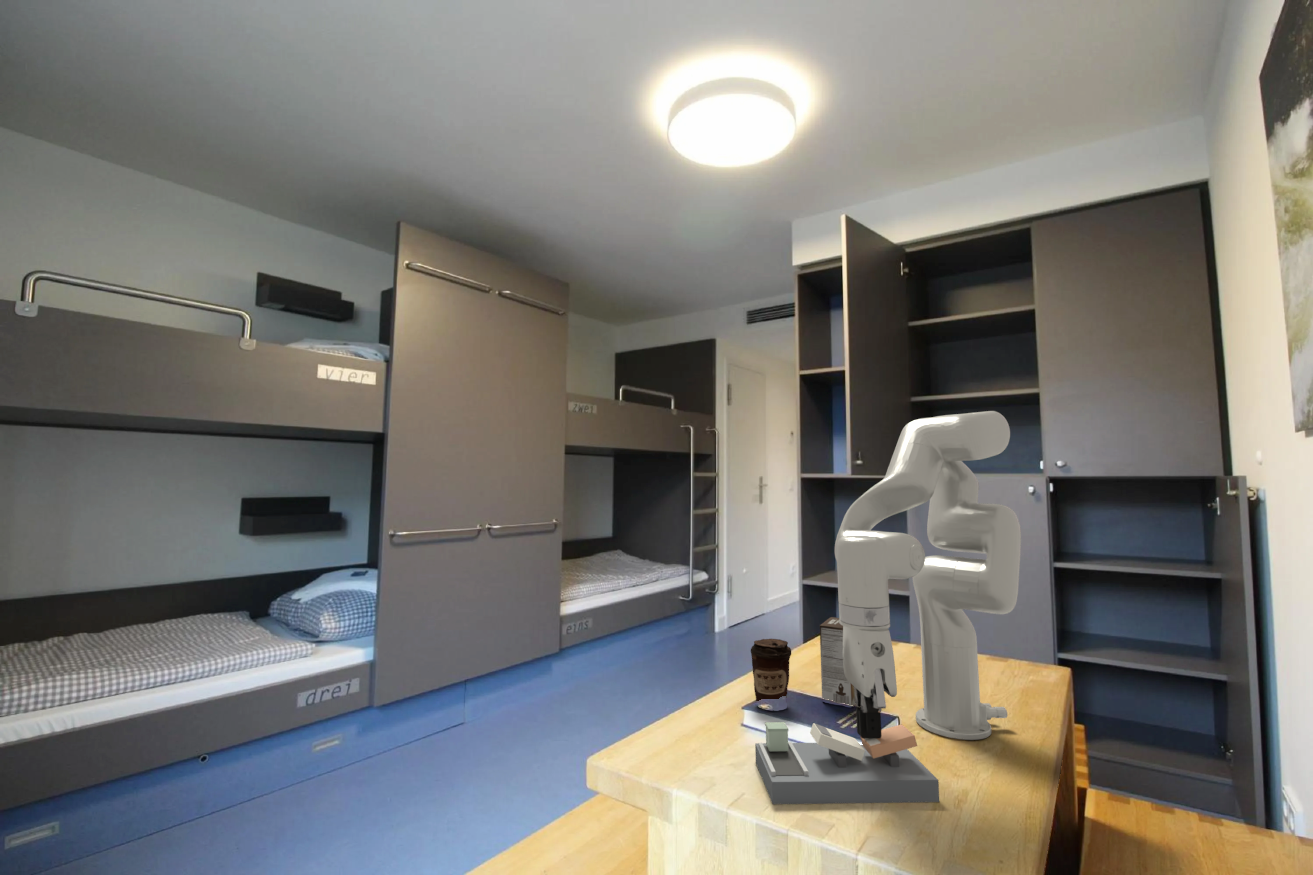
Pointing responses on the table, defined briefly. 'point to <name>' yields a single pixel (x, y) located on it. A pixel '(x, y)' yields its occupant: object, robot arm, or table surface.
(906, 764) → the panel
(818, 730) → the rocker cream
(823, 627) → the coffee box
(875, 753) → the rocker terracotta
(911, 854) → the table surface
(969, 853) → the table surface
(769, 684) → the coffee cup
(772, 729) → the green slider block
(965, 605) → the robot arm
